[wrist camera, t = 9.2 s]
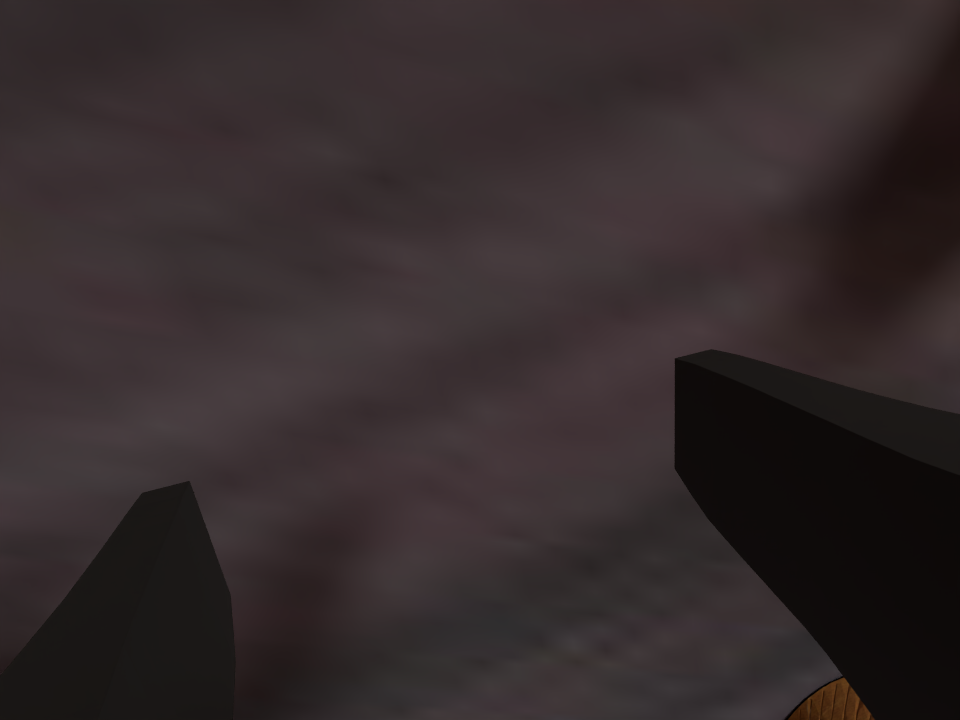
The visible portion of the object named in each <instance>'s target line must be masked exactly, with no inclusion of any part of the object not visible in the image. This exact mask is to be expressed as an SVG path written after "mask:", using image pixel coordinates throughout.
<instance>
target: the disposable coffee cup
mask: <svg viewBox="0 0 960 720" xmlns="http://www.w3.org/2000/svg"><path fill="white" fill-rule="evenodd" d="M788 720H875V719H874V718H873V716H872V715H871V713H870V712H869V711H868V709H867V708H866V707H865V705H864V704H863V702H862V701H861V700H860V698H859V697H858V696H857V694H856V693H855V691H854V690H853V689H852V687H851V686H850V685H849V683H848V682H847V681H846V679H845V678H844V677H843V678H841V679H839V680H837V681H834V682H832V683H830V684H828V685H827V686H825V687H823V688H822V689H820V690H819V691H817V692H816V693H815V694H813V695H812V696H811V697H809V698H808V699H807V700H806V701H805V702H804V703H803V704H802V705H801V706H800V707H799V708H798V709H797V710H796V711H795V712H794V713H793V714H792V715H791V716H790V718H789V719H788Z"/></svg>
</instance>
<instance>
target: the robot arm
mask: <svg viewBox="0 0 960 720" xmlns="http://www.w3.org/2000/svg"><path fill="white" fill-rule="evenodd" d="M675 470H676V471H677V473H678V474H679V476H680V478H681V479H682V481H683V482H684V484H685V485H686V487H687V489H688V490H689V492H690V493H691V495H692V496H693V498H694V499H695V501H696V502H697V504H698V505H699V506H700V508H701V509H702V511H703V512H704V514H705V515H706V517H707V518H708V519H709V521H710V522H711V523H712V524H713V525H714V526H715V528H716V529H717V530H718V531H719V532H720V533H721V534H722V536H723V537H724V538H725V539H726V540H727V541H728V542H729V543H730V545H731V546H732V547H733V548H734V549H735V550H736V551H737V552H738V554H739V555H740V556H741V557H742V558H743V559H744V560H745V561H746V563H747V564H748V565H749V566H750V567H751V568H752V569H753V570H754V571H755V572H756V574H757V575H758V576H759V577H760V578H761V579H762V580H763V581H764V582H765V584H766V585H767V586H768V587H769V588H770V589H771V590H772V591H773V592H774V594H775V595H776V596H777V597H778V598H779V599H780V600H781V601H782V602H783V603H784V605H785V606H786V607H787V608H788V609H789V610H790V611H791V612H792V613H793V615H794V616H795V617H796V618H797V619H798V620H799V621H800V622H801V623H802V625H803V626H804V627H805V628H806V629H807V630H808V632H809V633H810V634H811V635H812V636H813V638H814V639H815V640H816V641H817V642H818V644H819V645H820V646H821V647H822V648H823V650H824V651H825V652H826V653H827V655H828V656H829V657H830V659H831V660H832V661H833V663H834V664H835V666H836V667H837V668H838V670H839V671H840V672H841V674H842V675H843V676H844V678H845V679H846V681H847V682H848V683H849V685H850V686H851V687H852V689H853V690H854V691H855V693H856V694H857V696H858V697H859V698H860V700H861V701H862V702H863V704H864V705H865V707H866V708H867V709H868V711H869V712H870V713H871V715H872V716H873V718H874V719H875V720H960V414H956V413H951V412H946V411H942V410H937V409H932V408H928V407H924V406H920V405H916V404H912V403H908V402H904V401H900V400H895V399H891V398H887V397H883V396H879V395H876V394H872V393H868V392H865V391H861V390H857V389H854V388H850V387H847V386H843V385H840V384H836V383H833V382H829V381H826V380H822V379H819V378H815V377H812V376H809V375H805V374H802V373H799V372H795V371H792V370H789V369H785V368H782V367H779V366H775V365H772V364H768V363H765V362H761V361H758V360H754V359H751V358H747V357H743V356H740V355H736V354H731V353H727V352H722V351H717V350H711V349H710V350H707V351H703V352H699V353H695V354H691V355H687V356H683V357H679V358H675ZM234 684H235V646H234V631H233V619H232V607H231V596H230V592H229V589H228V587H227V584H226V581H225V578H224V576H223V573H222V570H221V567H220V564H219V562H218V559H217V556H216V553H215V551H214V548H213V545H212V542H211V539H210V537H209V534H208V531H207V528H206V525H205V523H204V520H203V517H202V514H201V512H200V509H199V506H198V503H197V500H196V498H195V495H194V492H193V489H192V487H191V484H190V481H188V482H184V483H180V484H176V485H172V486H168V487H164V488H160V489H156V490H152V491H148V492H144V493H142V494H141V495H140V497H139V498H138V499H137V500H136V502H135V503H134V504H133V506H132V507H131V509H130V510H129V511H128V513H127V514H126V515H125V517H124V518H123V520H122V521H121V522H120V524H119V525H118V527H117V528H116V530H115V531H114V532H113V534H112V535H111V536H110V538H109V539H108V541H107V542H106V543H105V545H104V546H103V548H102V549H101V550H100V552H99V553H98V555H97V556H96V557H95V559H94V560H93V561H92V563H91V564H90V565H89V567H88V568H87V569H86V571H85V572H84V573H83V575H82V576H81V577H80V579H79V580H78V581H77V583H76V584H75V585H74V587H73V588H72V589H71V591H70V592H69V593H68V595H67V596H66V597H65V599H64V600H63V601H62V602H61V604H60V605H59V606H58V607H57V608H56V610H55V611H54V612H53V613H52V614H51V616H50V617H49V618H48V619H47V620H46V622H45V623H44V624H43V625H42V627H41V628H40V629H39V630H38V631H37V633H36V634H35V635H34V636H33V637H32V639H31V640H30V641H29V642H28V643H27V645H26V646H25V647H24V648H23V650H22V651H21V652H20V653H19V654H18V656H17V657H16V658H15V659H14V660H13V662H12V663H11V664H10V665H9V666H8V667H7V668H6V670H5V671H4V672H3V673H2V674H1V675H0V720H233V703H234Z"/></svg>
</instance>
